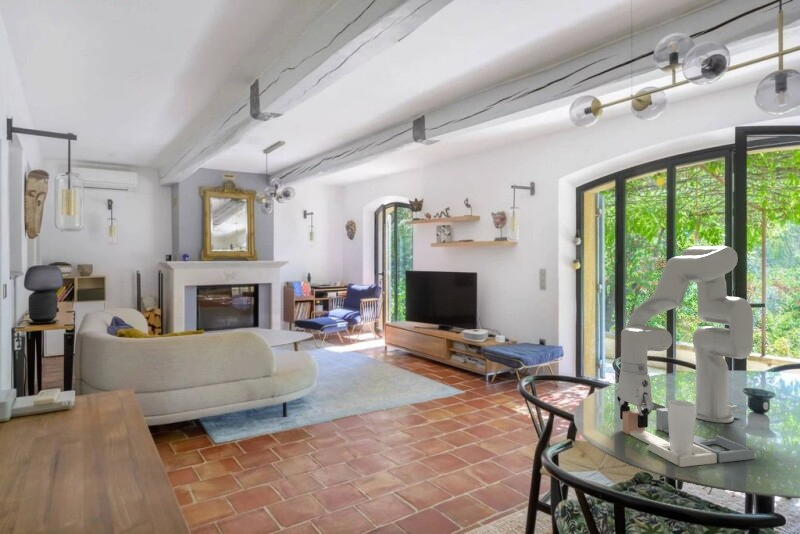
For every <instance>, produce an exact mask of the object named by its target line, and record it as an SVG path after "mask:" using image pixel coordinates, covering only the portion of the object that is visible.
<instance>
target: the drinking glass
mask: <svg viewBox="0 0 800 534" xmlns="http://www.w3.org/2000/svg"><path fill="white" fill-rule="evenodd" d="M667 408H668V427H669V433H668V438H669V443H670V449H669V450H670V451H672V452H674V453H676V454H678V455H680V456H683V455H693V453H692V451H693V440H694V436H695V428H696V421H697V420H696V419H697V418H696V403H693V402H690V401H687V400H680V399H671V400H668V401H667Z"/></svg>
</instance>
